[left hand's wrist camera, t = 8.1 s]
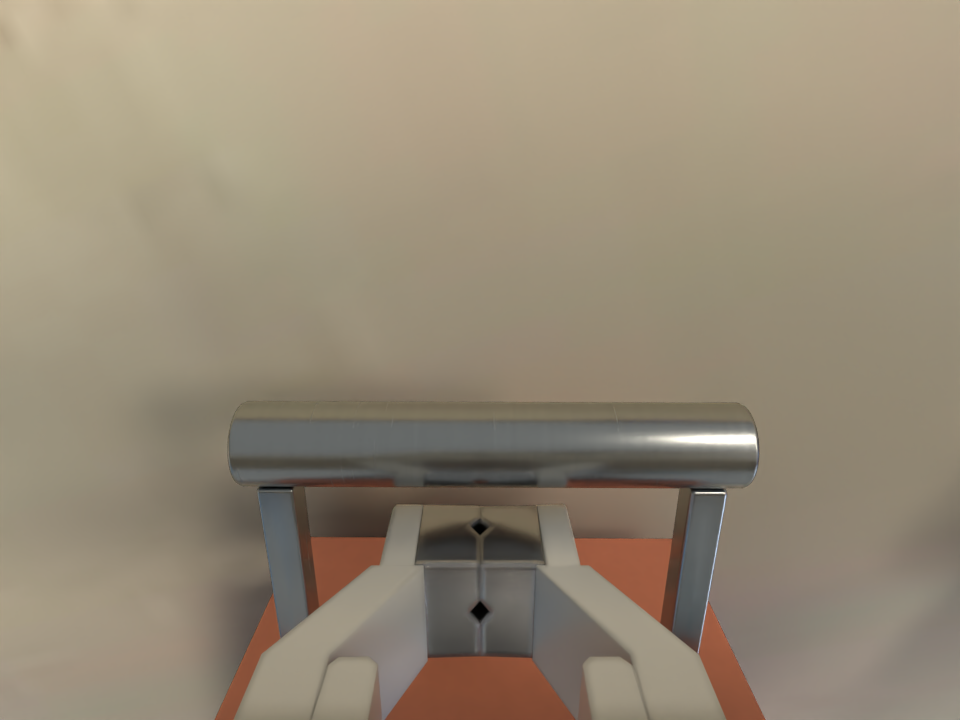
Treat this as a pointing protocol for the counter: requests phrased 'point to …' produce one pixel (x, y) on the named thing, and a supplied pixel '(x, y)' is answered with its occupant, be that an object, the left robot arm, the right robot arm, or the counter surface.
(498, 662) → the drawer
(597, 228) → the counter surface
